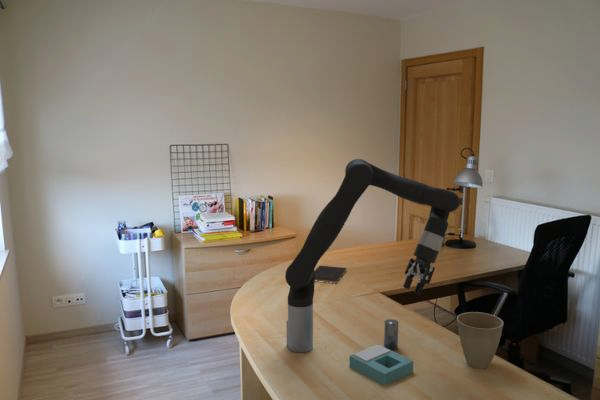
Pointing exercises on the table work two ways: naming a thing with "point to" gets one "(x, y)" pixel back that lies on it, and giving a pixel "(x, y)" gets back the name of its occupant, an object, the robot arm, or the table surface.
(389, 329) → the dark grey cylinder
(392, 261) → the table surface
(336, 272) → the hardcover book
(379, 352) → the jig
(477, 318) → the plant pot
